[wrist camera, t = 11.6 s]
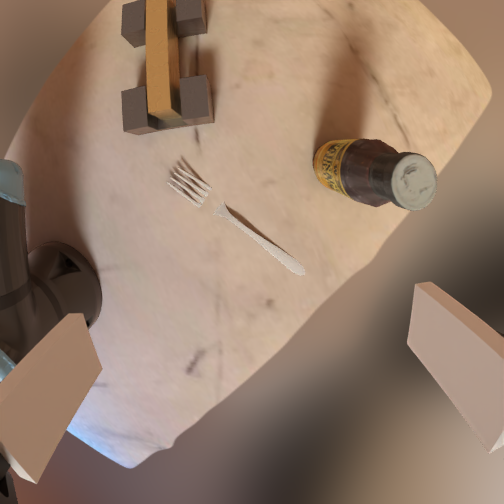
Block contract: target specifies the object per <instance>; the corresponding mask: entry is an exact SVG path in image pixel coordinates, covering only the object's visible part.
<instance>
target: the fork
mask: <svg viewBox="0 0 504 504" xmlns="http://www.w3.org/2000/svg"><path fill="white" fill-rule="evenodd" d="M177 169H179V170H180V171H182V172H183V173H184V174H186V175H187V176H189V177H190V178H192V179H193V180H195V181H197V182H198V183H200V184H201V185H203V186H204V187H206V188H207V189H208V190H212V188H211V187H210V186H209V185H208V184H206V183H204V182H203V181H201V180H199V179H198V178H196V177H195V176H193V175H191V174H190V173H188V172H186V171H184V170H182V169H181V168H179V167H178V168H177ZM174 174H176V175H177V176H178V177H180V178H181V179H182V180H183V181H185V182H186V183H188V184H189V185H191V186H192V187H194V188H195V189H197V190H198V191H199V192H201V193H202V194H204V196H205V197H207V196H208V194H209V193H208V192H206V191H204V190H203V189H201V188H200V187H198V186H197V185H195V184H194V183H192V182H191V181H189V180H188V179H186V178H184V177H183V176H181V175H179V174H177V173H176V172H174ZM170 178H171V179H172V180H173V181H175V182H176V183H177V184H178V185H180V186H181V187H182V188H184V189H185V190H187V191H188V192H189V193H191V194H192V195H193V196H195V197H196V198H197V199H199V200H200V203H203V202H204V200H205V199H204V197H201V196H199V195H198V194H197V193H195V192H194V191H192V190H191V189H189V188H188V187H186V186H185V185H183V184H182V183H180V182H179V181H177V180H176V179H174V178H172V177H170ZM166 183H168V184H169V185H170V186H171V187H172V188H174V189H175V190H176V191H177V192H179V193H180V194H181V195H183V196H184V197H185V198H187V199H188V200H189V201H190V202H192V203H193V204H194V205H196V206H197V207H199V208H200V207H201V205H202V204H200V203H197V202H196V201H195V200H193V199H192V198H191V197H189V196H188V195H187V194H185V193H184V192H183V191H181V190H180V189H178V188H177V187H176V186H174V185H172V184H171V183H169V182H168V181H167V182H166ZM213 215H218V216H222V217H225V218H226V219H228V220H229V221H231V222H232V223H233V224H235V225H236V226H237V227H239V228H240V229H241V230H243V231H244V232H245V233H247V234H248V235H249V236H250V237H252V238H253V239H254V240H255V241H257V242H258V243H259V244H260V245H261V246H262V247H264V248H265V249H266V250H267V251H268V252H269V253H270V254H272V255H273V256H274V257H275V258H276V259H277V260H279V261H280V262H281V263H282V264H283V265H285V266H286V267H287V268H288V269H289V270H290V271H291V272H293V273H295V274H297V275H305V270H304V268H303V266H302V265H301V264H300V263H299V262H298V261H297V260H296V259H294V258H293V257H292V256H290V255H289V254H287V253H286V252H284V251H283V250H281V249H280V248H278V247H277V246H275V245H274V244H272V243H270V242H269V241H267V240H266V239H264V238H263V237H261V236H259V235H258V234H256V233H255V232H253V231H252V230H251V229H249V228H248V227H246V226H245V225H243V224H242V223H241V222H239V221H238V220H237V219H236V218H235V217H234V216H232V214H231V213H230V212H229V211H228V209H227V207H226V204H225V203H224V202H222V204H221V205H220V206H219V207H218V208H217V209H216V211H215V212H214V213H213Z"/></svg>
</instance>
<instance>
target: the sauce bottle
mask: <svg viewBox="0 0 504 504" xmlns="http://www.w3.org/2000/svg"><path fill="white" fill-rule="evenodd" d="M313 168H314V171H315V174H316V176H317V178H318V180H319V181H320V182H321V183H322V184H323V185H324V186H325V187H327V188H329V189H331V190H333V191H336V192H338V193H340V194H342V195H344V196H346V197H348V198H350V199H352V200H354V201H357V202H360V203H364V204H367V205H371V206H374V207H378V206H381V205H383V204H386V203H388V202H390V201H391V202H393V203H394V204H395V205H396V206H398V207H401V208H404V209H407V210H411V211H417V210H420V209H422V208H425V207H426V206H427V205H428V204H429V203H430V202H431V201H432V199H433V198H434V195H435V193H436V190H437V174H436V171H435V169H434V167H433V165H432V164H431V163H430V161H429V160H428V159H427V158H426V157H424V156H422V155H420V154H417V153H411V152H402V153H398V152H397V151H396V150H395V149H394V148H393V147H391V146H389V145H387V144H386V143H384V142H382V141H381V140H377V139H374V140H369V139H348V140H334V141H330V142H327V143H326V144H324V145H322V146H321V147H319V149H318V150H317V152H316V154H315V156H314V159H313Z"/></svg>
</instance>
